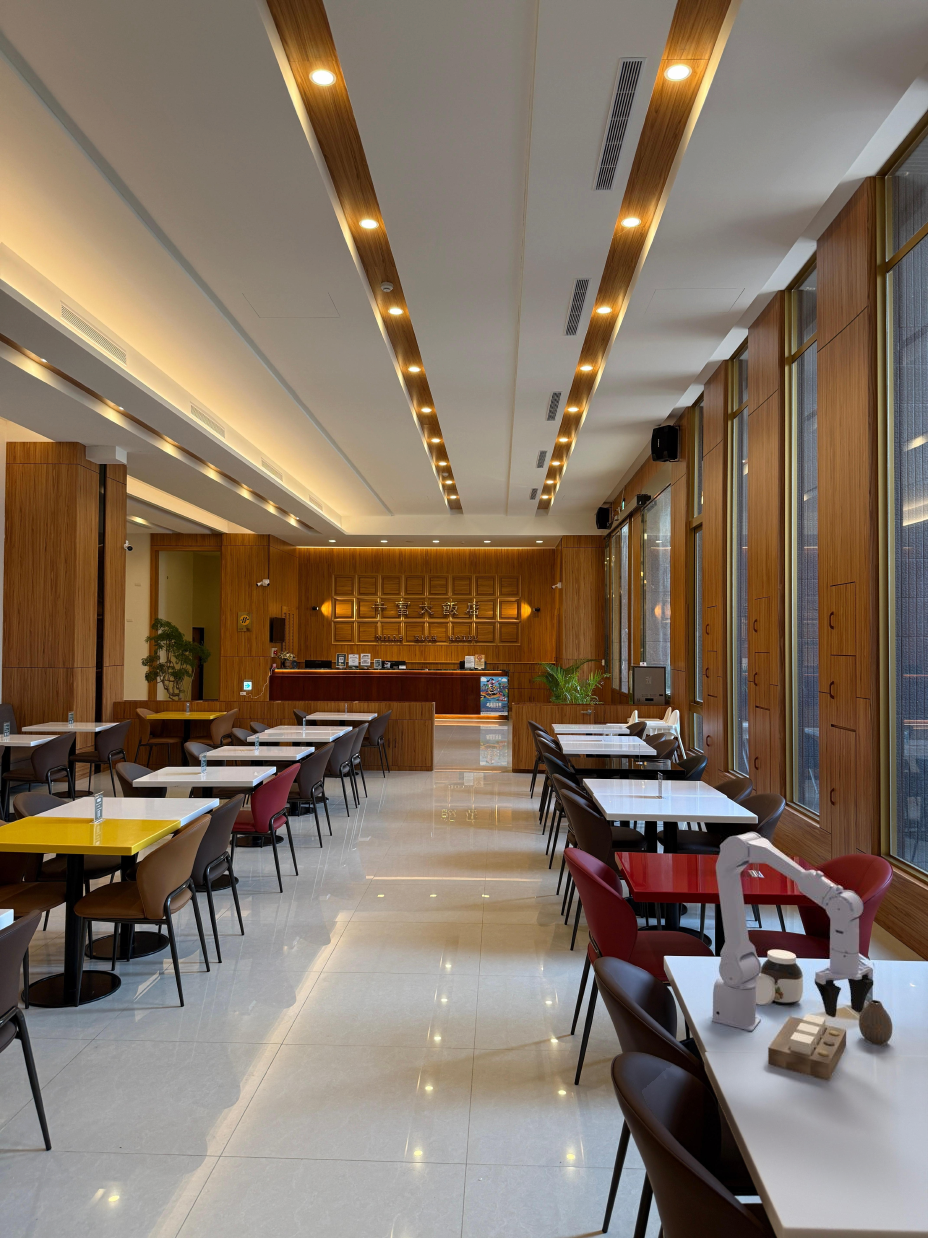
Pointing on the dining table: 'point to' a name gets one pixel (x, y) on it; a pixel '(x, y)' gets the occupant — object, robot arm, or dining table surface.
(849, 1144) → the dining table surface
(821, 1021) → the button
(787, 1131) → the dining table surface
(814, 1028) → the button middle
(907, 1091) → the dining table surface
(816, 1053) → the button board
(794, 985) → the spread jar
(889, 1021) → the vase
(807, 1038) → the button
